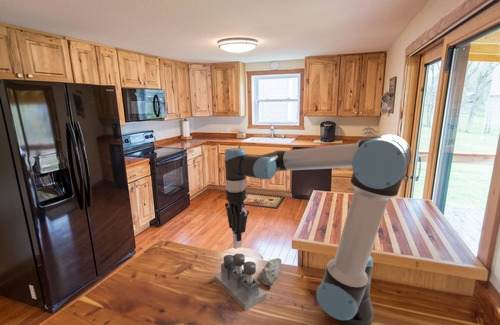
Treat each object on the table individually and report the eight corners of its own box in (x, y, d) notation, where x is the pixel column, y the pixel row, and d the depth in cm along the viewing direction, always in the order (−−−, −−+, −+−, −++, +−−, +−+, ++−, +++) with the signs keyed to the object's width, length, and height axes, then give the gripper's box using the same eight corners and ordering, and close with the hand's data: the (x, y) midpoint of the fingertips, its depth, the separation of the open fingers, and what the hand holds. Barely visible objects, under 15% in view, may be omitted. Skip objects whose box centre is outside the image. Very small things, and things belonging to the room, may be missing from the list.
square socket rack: (266, 298, 100) (266, 282, 99) (245, 310, 94) (245, 293, 93) (233, 270, 117) (233, 256, 116) (214, 279, 111) (214, 264, 110)
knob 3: (258, 288, 99) (258, 265, 97) (248, 293, 96) (248, 270, 94) (250, 282, 102) (250, 260, 100) (241, 287, 100) (241, 264, 98)
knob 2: (247, 279, 104) (246, 257, 102) (237, 283, 101) (237, 261, 100) (240, 273, 108) (240, 252, 106) (231, 277, 105) (230, 256, 103)
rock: (268, 264, 122) (268, 251, 120) (283, 268, 119) (283, 255, 118) (255, 284, 108) (255, 270, 106) (271, 289, 105) (272, 274, 104)
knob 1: (237, 278, 110) (236, 258, 108) (227, 283, 108) (227, 262, 106) (231, 273, 114) (230, 253, 112) (221, 277, 111) (221, 257, 109)
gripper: (254, 191, 95) (255, 250, 100) (234, 184, 106) (236, 238, 110) (237, 195, 91) (239, 257, 96) (218, 187, 101) (220, 243, 106)
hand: (237, 247), depth 103 cm, fingers closed
